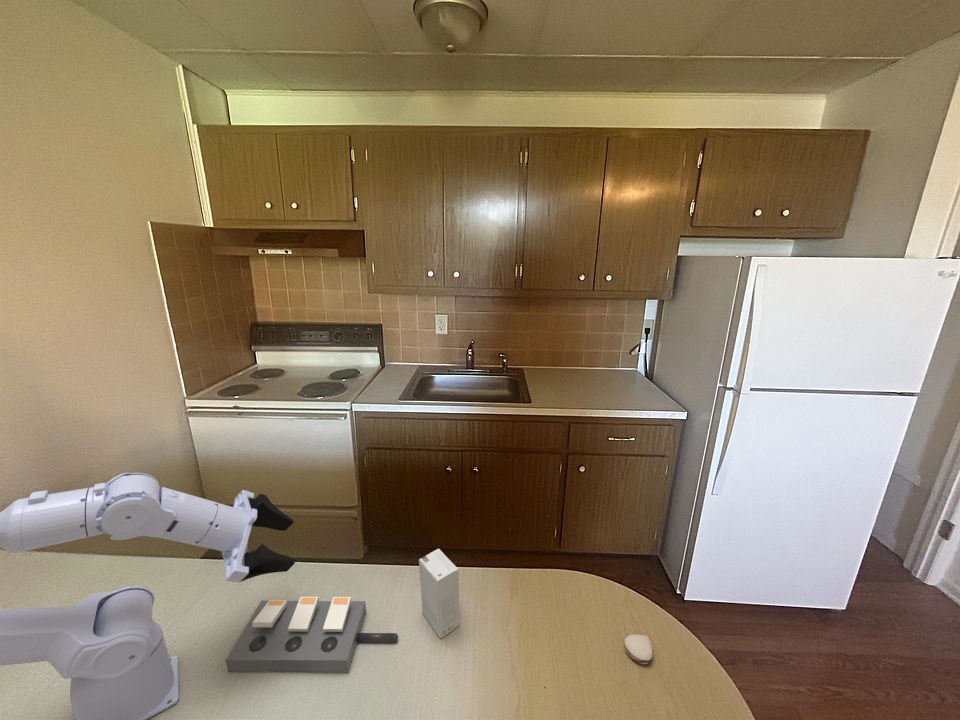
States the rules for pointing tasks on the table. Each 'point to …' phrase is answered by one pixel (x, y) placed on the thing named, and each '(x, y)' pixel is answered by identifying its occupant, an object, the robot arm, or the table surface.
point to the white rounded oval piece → (639, 648)
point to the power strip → (301, 643)
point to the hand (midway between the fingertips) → (290, 544)
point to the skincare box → (439, 592)
